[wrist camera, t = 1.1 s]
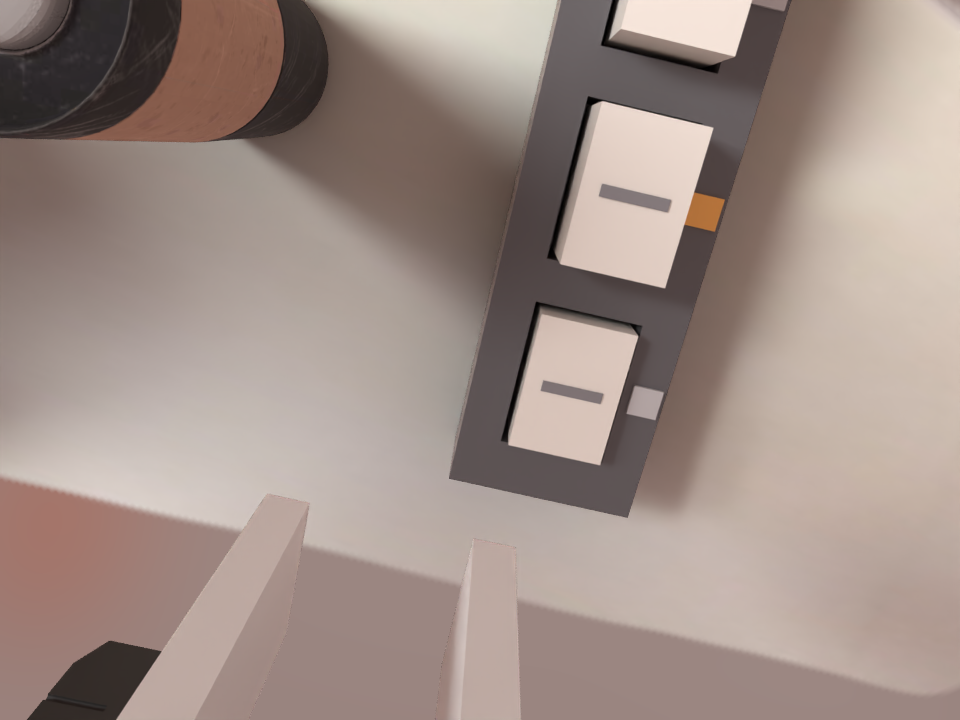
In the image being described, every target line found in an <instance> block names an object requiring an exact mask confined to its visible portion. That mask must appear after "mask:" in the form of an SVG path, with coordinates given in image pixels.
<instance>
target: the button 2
mask: <svg viewBox="0 0 960 720" xmlns="http://www.w3.org/2000/svg"><path fill="white" fill-rule="evenodd" d="M712 131H713V128H712V127H708V126H704V125H700V124H696V123H691V122H687V121H683V120H679V119H675V118H670V117H666V116H662V115H658V114H654V113H650V112H645V111H641V110H637V109H633V108H629V107H625V106H620V105H616V104H612V103H608V102H604V101H601V102H599V103H596V104H594V105H592V106H589V107H588V108H587V112H586V116H585V120H584V124H583V128H582V132H581V135H580V139H579V143H578V147H577V151H576V155H575V159H574V163H573V167H572V171H571V175H570V179H569V183H568V187H567V191H566V195H565V199H564V202H563V206H562V210H561V214H560V218H559V222H558V226H557V230H556V234H555V238H554V242H553V246H552V248H553V250H554V252H555V254H556V257H557V259H558V261H559V263H560V264H561V265H566V266H570V267H574V268H579V269H583V270H587V271H592V272H596V273H600V274H605V275H609V276H613V277H618V278H622V279H626V280H631V281H635V282H639V283H644V284H648V285H652V286H657V287H661V288H665V287H666V283H667V280H668V277H669V273H670V270H671V267H672V264H673V260H674V257H675V254H676V250H677V247H678V244H679V240H680V237H681V234H682V231H683V227H684V224H685V221H686V217H687V214H688V211H689V207H690V204H691V201H692V197H693V194H694V191H695V188H696V184H697V181H698V178H699V174H700V171H701V168H702V164H703V161H704V158H705V154H706V151H707V148H708V145H709V141H710V138H711V135H712Z"/></svg>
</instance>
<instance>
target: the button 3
mask: <svg viewBox="0 0 960 720" xmlns="http://www.w3.org/2000/svg"><path fill="white" fill-rule="evenodd" d="M751 2H752V0H615V2H614V6H613V9H612V13H611V17H610V21H609V25H608V29H607V33H606V37H605V41H604V45H603V46H607V47H611V48H615V49H620V50H624V51H628V52H632V53H636V54H640V55H644V56H648V57H653V58H657V59H661V60H665V61H669V62H673V63H677V64H682V65H686V66H690V67H694V68H698V69H702V68H705V67H708V66H711V65H713V64H716V63H719V62H722V61H724V60H727V59H730V58H733V57H735V55H736V52H737V49H738V45H739V42H740V39H741V36H742V32H743V29H744V26H745V22H746V19H747V16H748V12H749V9H750V6H751Z"/></svg>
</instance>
